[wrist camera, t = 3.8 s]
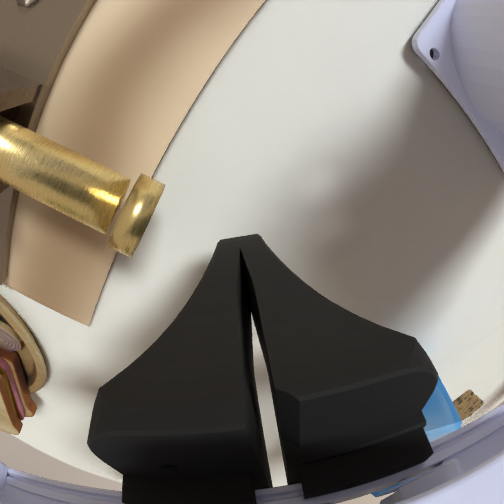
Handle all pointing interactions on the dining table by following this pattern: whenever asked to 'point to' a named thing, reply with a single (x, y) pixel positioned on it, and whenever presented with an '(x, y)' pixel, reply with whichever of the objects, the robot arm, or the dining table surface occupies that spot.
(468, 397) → the tan speckled flat slab
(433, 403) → the perfume bottle
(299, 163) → the dining table surface
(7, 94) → the hinge leaves
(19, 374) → the toy sandwich meal
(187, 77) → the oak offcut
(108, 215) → the hinge pin
